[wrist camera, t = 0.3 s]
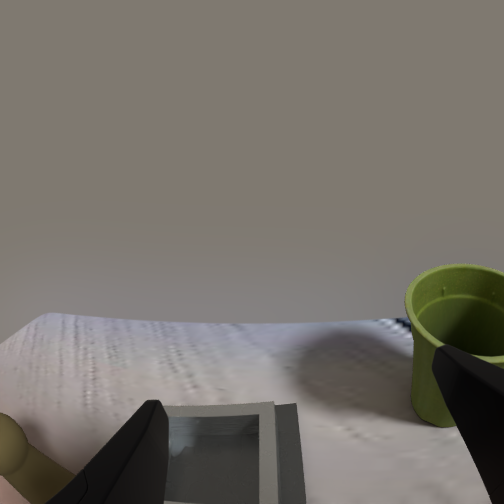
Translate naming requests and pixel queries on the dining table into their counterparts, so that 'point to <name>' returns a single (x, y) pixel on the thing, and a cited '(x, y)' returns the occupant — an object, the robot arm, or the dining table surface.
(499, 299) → the plant pot
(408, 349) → the dining table surface
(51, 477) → the olive knobbed peg
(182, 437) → the steel collar socket
